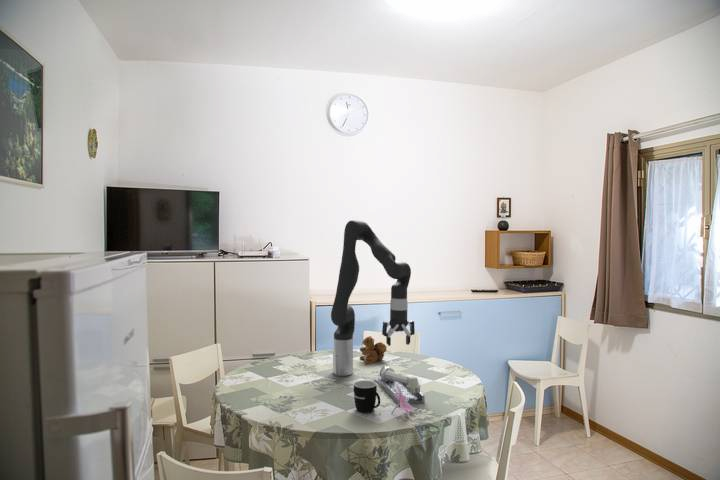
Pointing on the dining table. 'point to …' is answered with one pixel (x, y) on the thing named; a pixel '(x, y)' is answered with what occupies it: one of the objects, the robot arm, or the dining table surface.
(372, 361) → the stuffed squirrel
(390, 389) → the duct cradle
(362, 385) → the mug
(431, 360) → the dining table surface
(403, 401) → the lily
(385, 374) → the electric toothbrush
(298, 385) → the dining table surface
